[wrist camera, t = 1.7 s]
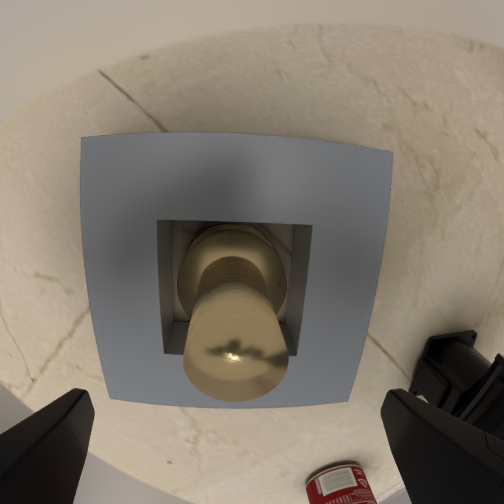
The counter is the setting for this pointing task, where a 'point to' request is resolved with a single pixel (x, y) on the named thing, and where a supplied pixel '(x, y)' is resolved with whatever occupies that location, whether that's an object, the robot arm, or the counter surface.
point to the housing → (234, 210)
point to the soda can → (340, 486)
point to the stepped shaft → (233, 313)
